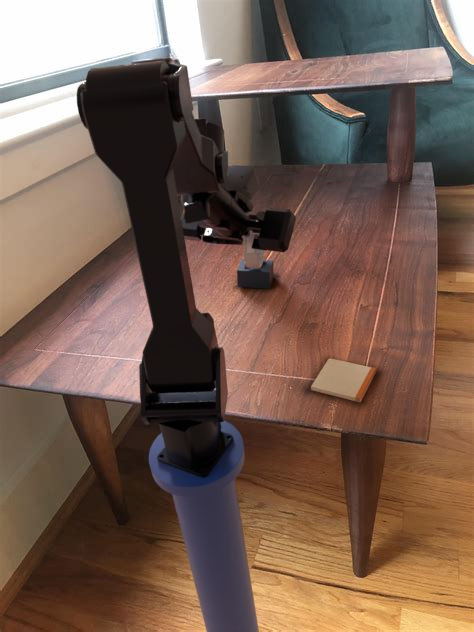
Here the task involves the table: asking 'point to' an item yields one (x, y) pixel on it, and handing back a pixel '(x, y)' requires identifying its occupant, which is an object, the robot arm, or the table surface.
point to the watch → (254, 267)
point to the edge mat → (344, 379)
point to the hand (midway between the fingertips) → (255, 243)
